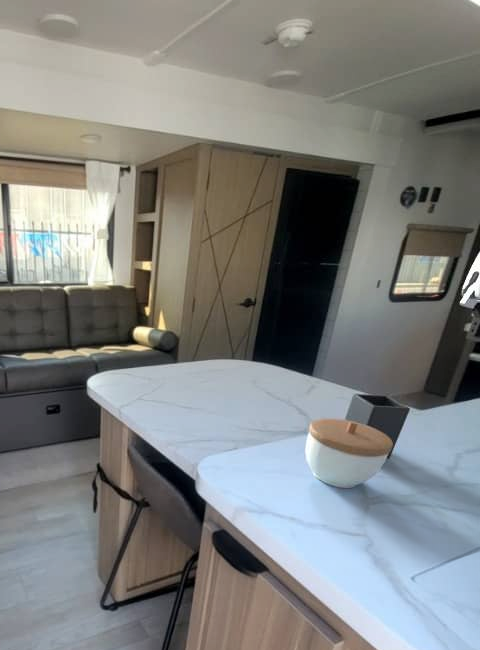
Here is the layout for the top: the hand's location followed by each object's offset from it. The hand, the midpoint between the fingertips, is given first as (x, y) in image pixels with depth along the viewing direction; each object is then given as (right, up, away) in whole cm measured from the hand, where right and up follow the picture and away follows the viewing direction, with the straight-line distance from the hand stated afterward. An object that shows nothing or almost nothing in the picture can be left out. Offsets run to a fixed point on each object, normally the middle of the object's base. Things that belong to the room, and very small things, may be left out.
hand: (476, 340), depth 75 cm
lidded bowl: (-27, -25, 0) cm, 37 cm away
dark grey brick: (-11, -16, +8) cm, 21 cm away
